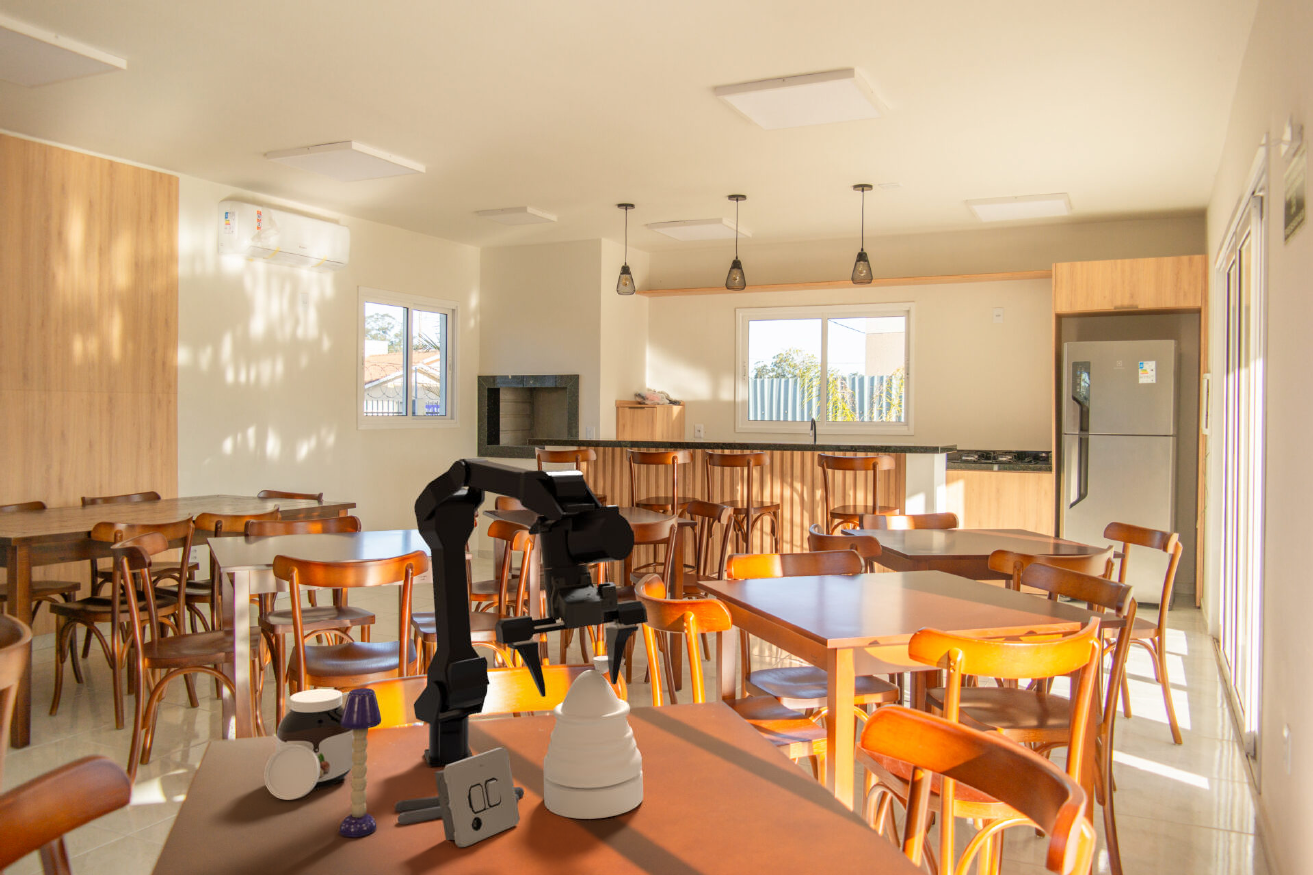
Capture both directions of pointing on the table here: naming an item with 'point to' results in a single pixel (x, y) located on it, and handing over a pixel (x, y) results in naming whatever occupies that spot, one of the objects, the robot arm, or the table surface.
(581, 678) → the honey pot
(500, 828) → the electrical switch
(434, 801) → the cord
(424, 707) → the robot arm
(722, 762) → the table surface
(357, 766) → the toy lamp
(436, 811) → the cord
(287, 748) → the spread jar
